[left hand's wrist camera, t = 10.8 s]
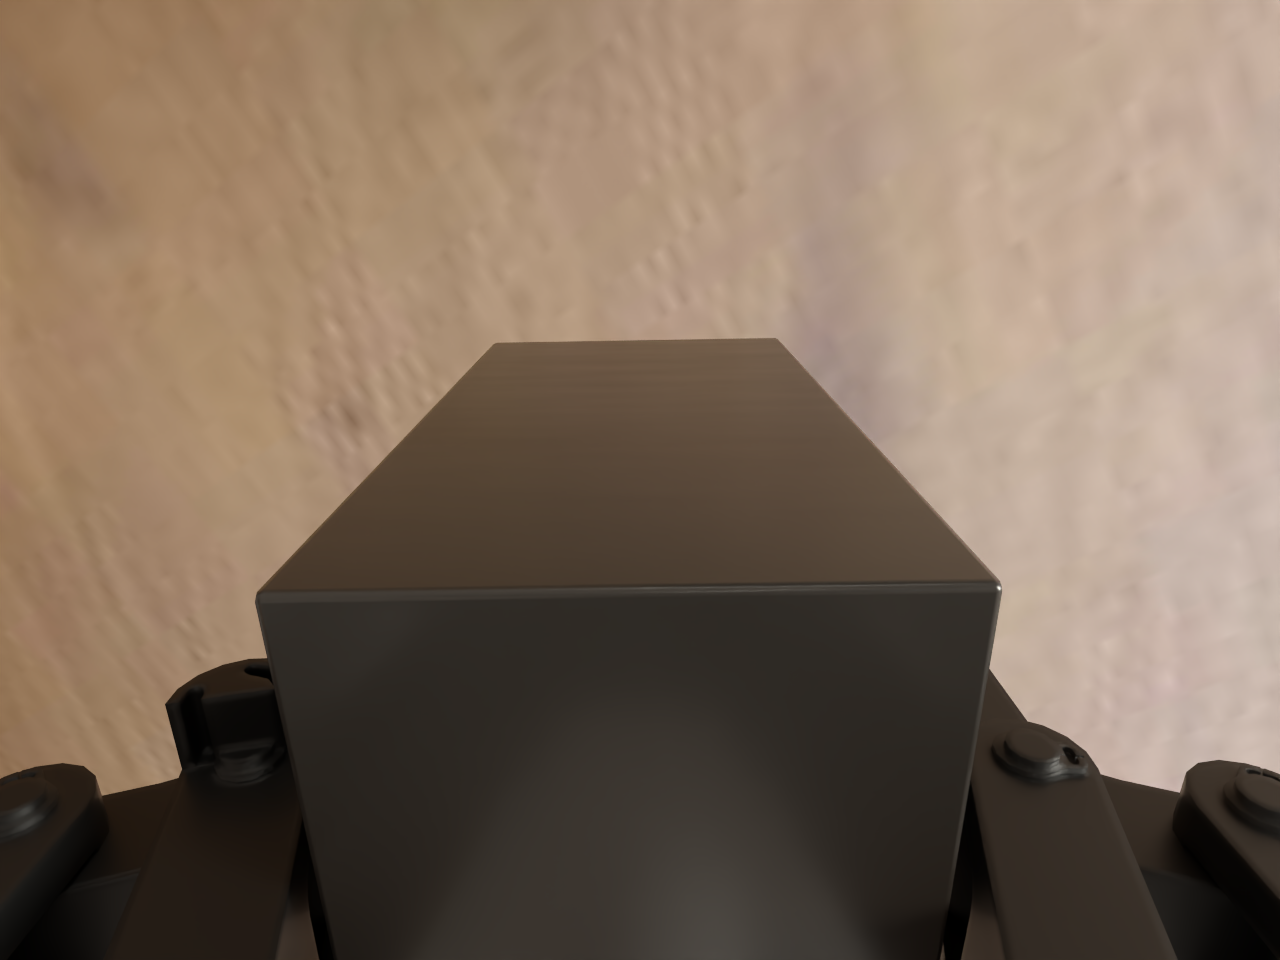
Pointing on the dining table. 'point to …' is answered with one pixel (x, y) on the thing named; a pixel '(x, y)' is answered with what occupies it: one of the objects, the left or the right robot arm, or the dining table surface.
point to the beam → (633, 672)
